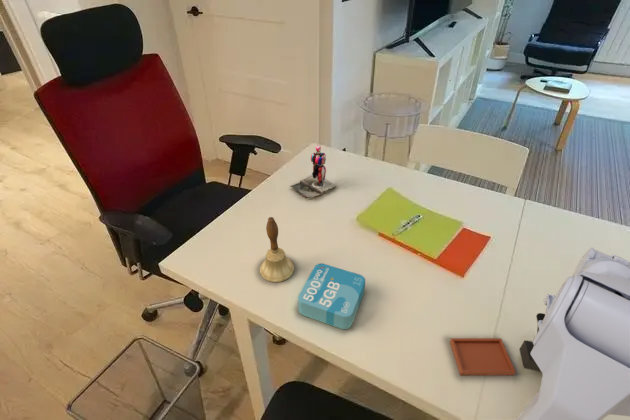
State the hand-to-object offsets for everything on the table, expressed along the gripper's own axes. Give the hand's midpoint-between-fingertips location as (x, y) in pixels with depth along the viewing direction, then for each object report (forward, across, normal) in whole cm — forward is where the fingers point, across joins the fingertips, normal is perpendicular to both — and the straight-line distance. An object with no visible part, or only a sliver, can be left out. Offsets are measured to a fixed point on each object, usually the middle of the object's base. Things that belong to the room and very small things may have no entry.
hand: (544, 357), depth 68 cm
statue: (+4, -49, -54) cm, 73 cm away
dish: (+4, 0, -10) cm, 11 cm away
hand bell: (+4, -14, -55) cm, 57 cm away
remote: (+1, 0, 0) cm, 1 cm away
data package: (+1, -6, -35) cm, 35 cm away
